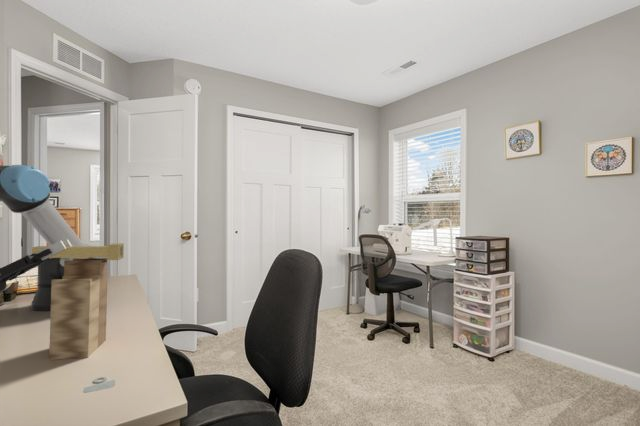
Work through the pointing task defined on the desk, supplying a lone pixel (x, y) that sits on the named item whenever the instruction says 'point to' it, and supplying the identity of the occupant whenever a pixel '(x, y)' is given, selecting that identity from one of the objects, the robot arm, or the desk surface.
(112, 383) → the mounting bracket
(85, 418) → the desk surface
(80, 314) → the hinge block
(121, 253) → the golden wooden bar
